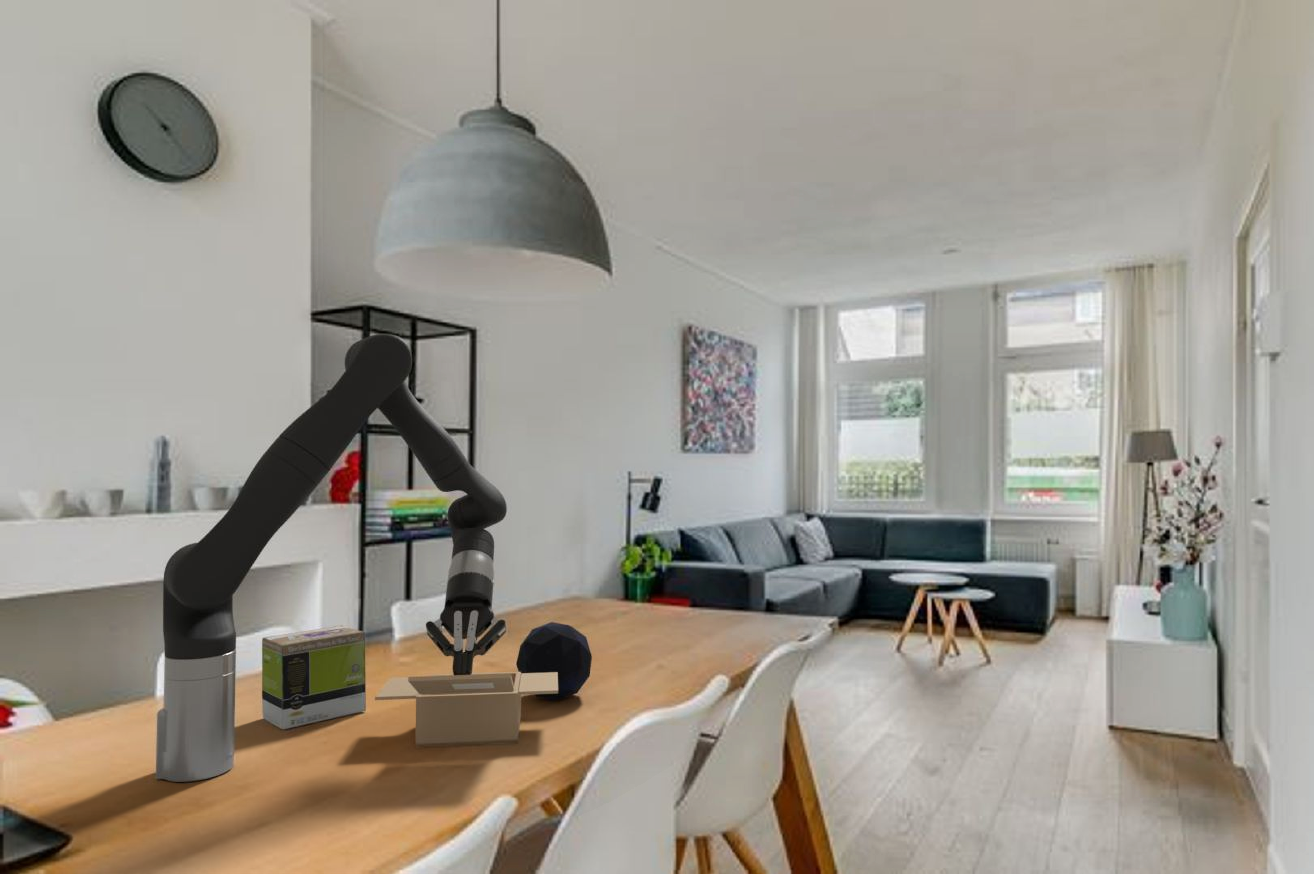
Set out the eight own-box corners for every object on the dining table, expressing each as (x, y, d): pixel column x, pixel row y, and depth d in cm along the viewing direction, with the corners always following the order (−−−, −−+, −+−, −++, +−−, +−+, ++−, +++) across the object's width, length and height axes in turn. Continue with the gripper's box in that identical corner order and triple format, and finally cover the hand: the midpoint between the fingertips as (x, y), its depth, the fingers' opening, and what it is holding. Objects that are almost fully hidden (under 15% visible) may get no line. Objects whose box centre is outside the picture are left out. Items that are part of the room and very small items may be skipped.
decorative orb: (507, 660, 165) (515, 608, 157) (578, 654, 170) (590, 604, 162) (516, 720, 154) (526, 667, 146) (593, 711, 159) (606, 660, 151)
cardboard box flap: (419, 695, 130) (408, 682, 119) (420, 690, 130) (408, 676, 119) (513, 691, 131) (510, 678, 121) (514, 687, 132) (510, 673, 121)
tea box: (343, 701, 155) (344, 623, 156) (366, 712, 148) (367, 631, 149) (260, 718, 145) (261, 635, 145) (280, 731, 138) (282, 643, 138)
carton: (373, 749, 128) (373, 698, 129) (391, 721, 143) (391, 675, 143) (558, 741, 132) (558, 691, 132) (557, 714, 147) (557, 669, 147)
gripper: (427, 570, 132) (414, 664, 120) (509, 569, 134) (505, 662, 121) (431, 598, 137) (419, 691, 125) (511, 597, 139) (506, 688, 126)
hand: (461, 676), depth 123 cm, fingers closed
